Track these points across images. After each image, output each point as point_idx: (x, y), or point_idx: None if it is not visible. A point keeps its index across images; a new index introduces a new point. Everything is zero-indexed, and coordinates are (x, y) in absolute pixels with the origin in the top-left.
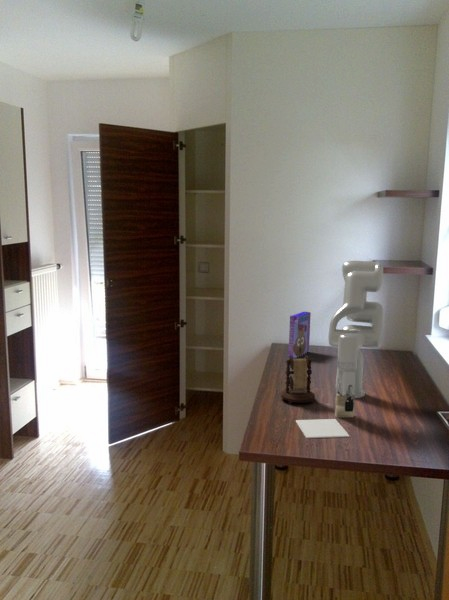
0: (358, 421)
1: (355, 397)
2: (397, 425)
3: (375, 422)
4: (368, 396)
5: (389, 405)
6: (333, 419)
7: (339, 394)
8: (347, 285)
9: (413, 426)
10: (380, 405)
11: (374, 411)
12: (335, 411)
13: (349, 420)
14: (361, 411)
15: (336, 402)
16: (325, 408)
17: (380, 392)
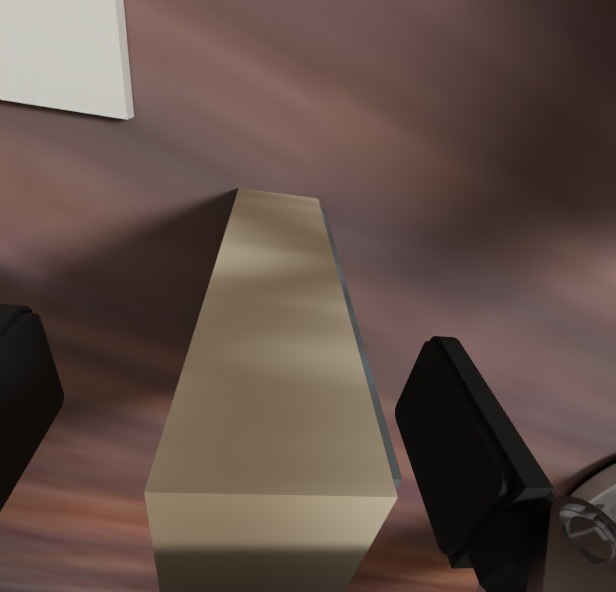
0: (106, 355)
1: (577, 495)
2: (47, 525)
3: (92, 451)
4: None
5: (376, 567)
6: (104, 74)
7: (297, 549)
8: None
9: (44, 568)
10: (394, 544)
11: None
12: (301, 218)
13: (132, 290)
14: None
15: (278, 303)
16: (565, 187)
17: None
